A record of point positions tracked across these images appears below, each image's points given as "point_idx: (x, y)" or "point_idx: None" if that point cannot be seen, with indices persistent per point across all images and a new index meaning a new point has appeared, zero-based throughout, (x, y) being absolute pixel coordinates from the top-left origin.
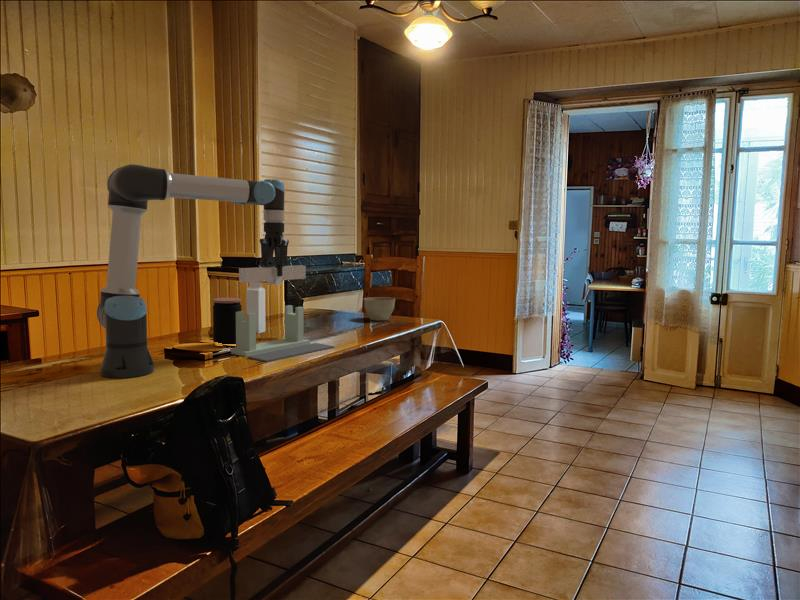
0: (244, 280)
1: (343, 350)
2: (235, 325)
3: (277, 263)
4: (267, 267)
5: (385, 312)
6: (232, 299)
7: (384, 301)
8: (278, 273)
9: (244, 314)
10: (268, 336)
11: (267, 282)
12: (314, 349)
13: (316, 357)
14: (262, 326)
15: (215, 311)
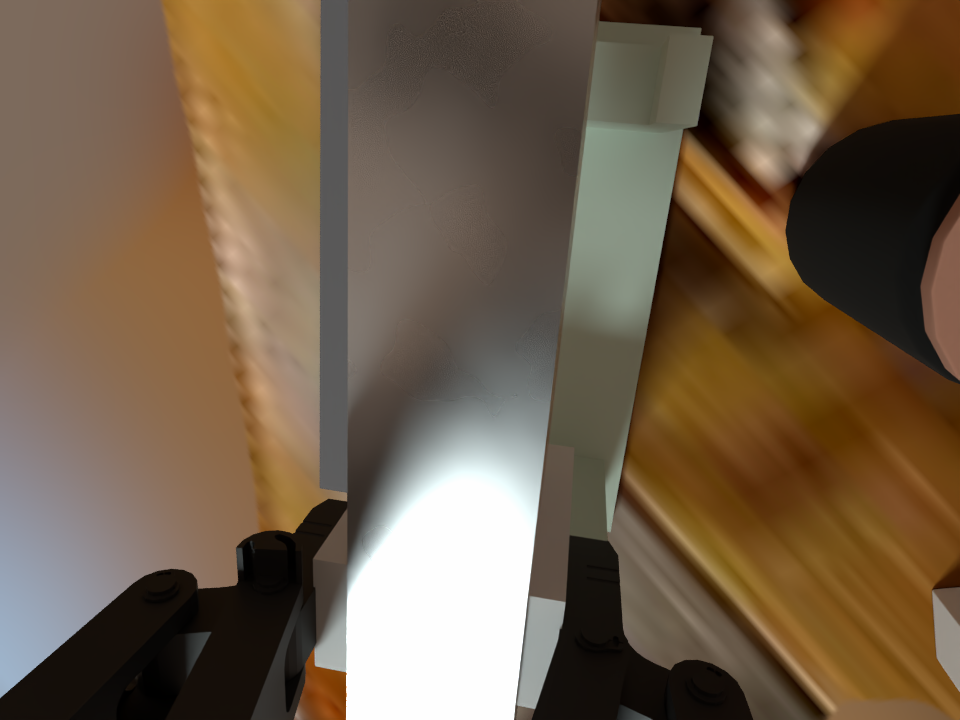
0: None
1: (249, 455)
2: (835, 216)
3: (238, 618)
4: (415, 473)
5: None
6: None
7: None
8: (329, 528)
9: (653, 116)
10: (819, 554)
11: (561, 459)
12: (334, 371)
13: (227, 254)
14: (955, 656)
15: None
